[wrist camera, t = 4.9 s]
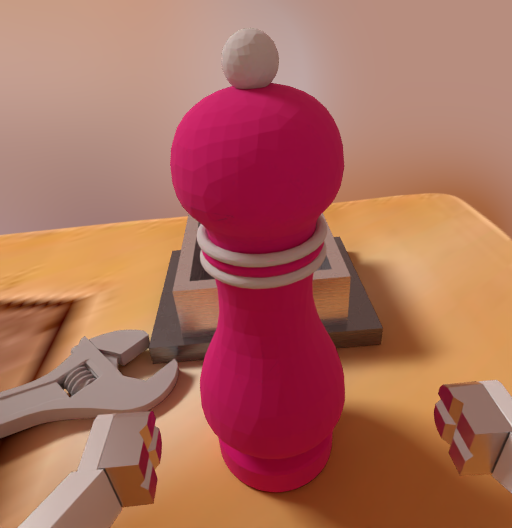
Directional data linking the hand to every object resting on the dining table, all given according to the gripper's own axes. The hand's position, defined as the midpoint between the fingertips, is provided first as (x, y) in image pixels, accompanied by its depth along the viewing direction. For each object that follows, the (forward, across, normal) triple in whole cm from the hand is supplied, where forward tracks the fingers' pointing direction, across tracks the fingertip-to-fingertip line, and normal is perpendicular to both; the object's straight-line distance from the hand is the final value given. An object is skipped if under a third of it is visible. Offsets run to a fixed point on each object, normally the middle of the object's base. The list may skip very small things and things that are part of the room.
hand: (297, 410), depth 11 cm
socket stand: (+20, 0, -11) cm, 22 cm away
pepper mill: (+6, 0, -11) cm, 13 cm away
